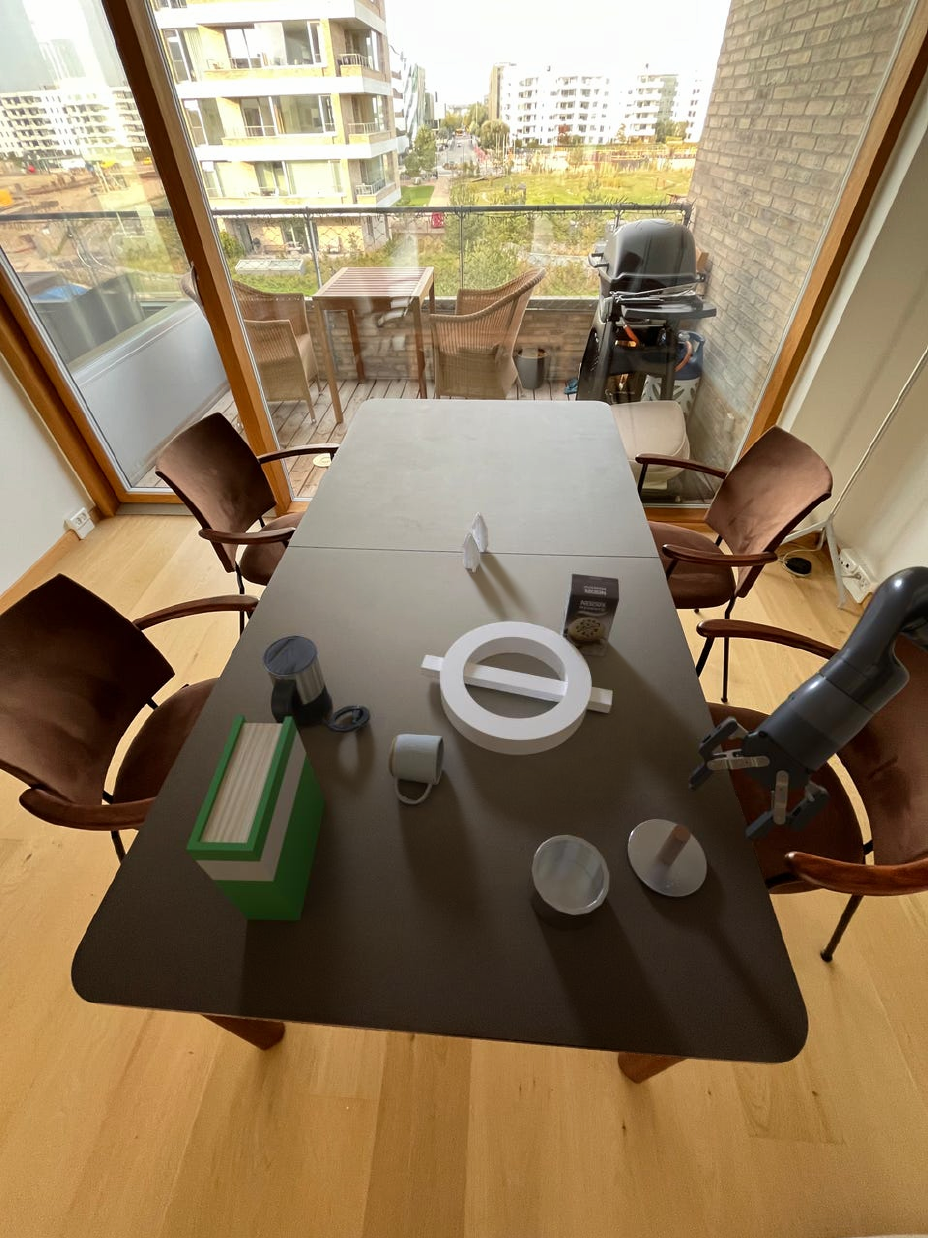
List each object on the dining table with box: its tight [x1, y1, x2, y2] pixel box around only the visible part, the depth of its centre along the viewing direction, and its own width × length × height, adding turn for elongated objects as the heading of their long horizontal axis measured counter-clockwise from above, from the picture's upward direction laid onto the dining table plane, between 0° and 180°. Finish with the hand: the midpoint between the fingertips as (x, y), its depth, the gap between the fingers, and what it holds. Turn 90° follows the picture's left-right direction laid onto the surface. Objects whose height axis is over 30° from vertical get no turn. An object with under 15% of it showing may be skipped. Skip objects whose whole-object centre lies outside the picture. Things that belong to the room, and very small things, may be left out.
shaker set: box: [462, 511, 489, 573], centre depth 131 cm, size 12×4×11 cm, turn 160°
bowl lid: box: [626, 818, 708, 898], centre depth 80 cm, size 11×11×9 cm
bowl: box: [527, 834, 611, 932], centre depth 77 cm, size 10×10×7 cm
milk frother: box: [261, 635, 371, 737], centre depth 97 cm, size 14×16×15 cm
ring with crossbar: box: [420, 621, 613, 756], centre depth 104 cm, size 28×28×5 cm
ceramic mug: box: [388, 733, 445, 805], centre depth 90 cm, size 11×8×8 cm
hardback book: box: [185, 715, 326, 922], centre depth 75 cm, size 18×7×24 cm, turn 179°
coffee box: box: [559, 573, 620, 658], centre depth 109 cm, size 9×6×16 cm
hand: (719, 811), depth 70 cm, fingers open, 8 cm apart
